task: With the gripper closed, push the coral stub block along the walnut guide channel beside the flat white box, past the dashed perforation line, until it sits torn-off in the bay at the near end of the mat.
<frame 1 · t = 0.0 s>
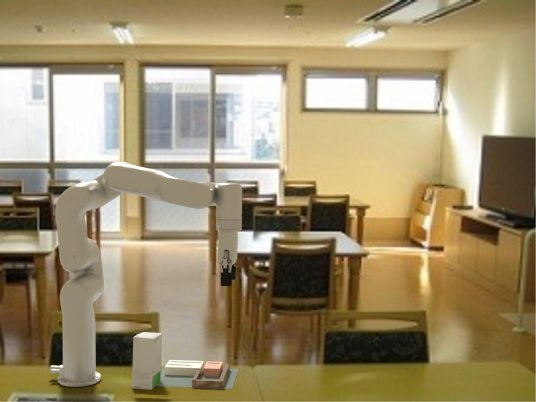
hand: (228, 282, 205), 31 cm above the table, fingers open, 9 cm apart
guide: (211, 374, 211), on the mat, point 1 cm above the table
mat: (196, 380, 212), on the table
flat white box: (184, 371, 217), resting on mat
stub: (213, 372, 216), point 1 cm above the table, touching mat
skincare box: (145, 387, 206), on the table, touching mat
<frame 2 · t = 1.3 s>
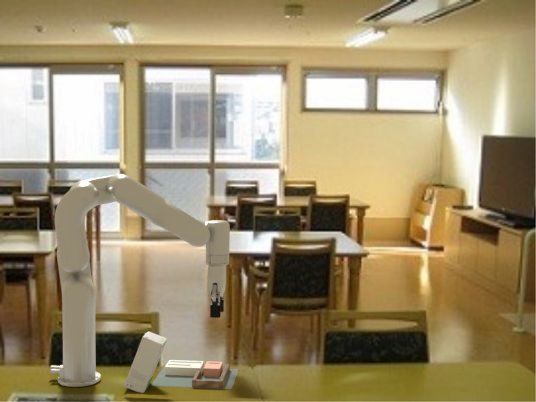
hand: (217, 314, 222), 18 cm above the table, fingers open, 6 cm apart
skincare box: (135, 386, 203), point 1 cm above the table
everything else where it was.
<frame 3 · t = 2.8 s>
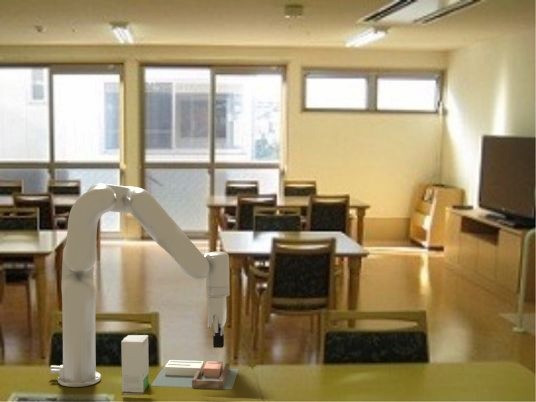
hand: (218, 346, 224), 7 cm above the table, fingers closed
skincare box: (135, 391, 203), on the table
everything else where it was.
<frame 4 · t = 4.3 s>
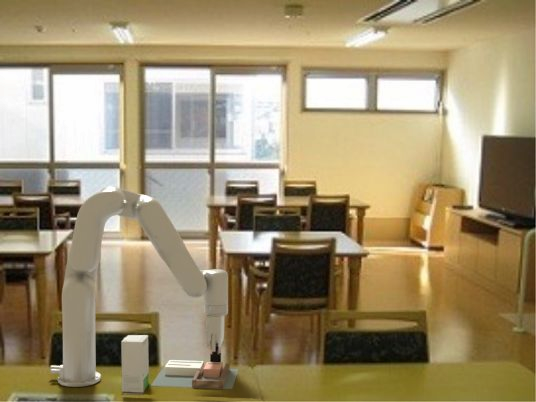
hand: (215, 365, 221), 2 cm above the table, fingers closed
stub: (213, 373, 216), point 1 cm above the table, touching gripper, mat
everything else where it was.
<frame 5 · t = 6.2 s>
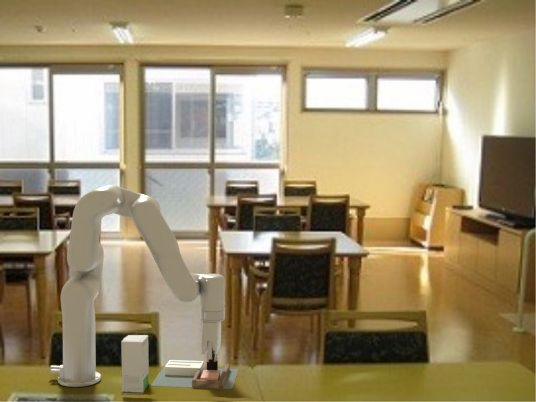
hand: (212, 373, 213), 2 cm above the table, fingers closed
stub: (210, 382, 208), point 1 cm above the table, touching gripper, mat
everything else where it was.
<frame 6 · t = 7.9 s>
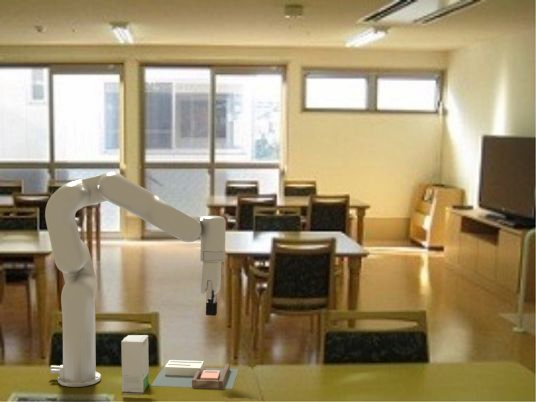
hand: (211, 314, 215), 19 cm above the table, fingers closed
stub: (210, 382, 208), point 1 cm above the table, touching mat
everything else where it was.
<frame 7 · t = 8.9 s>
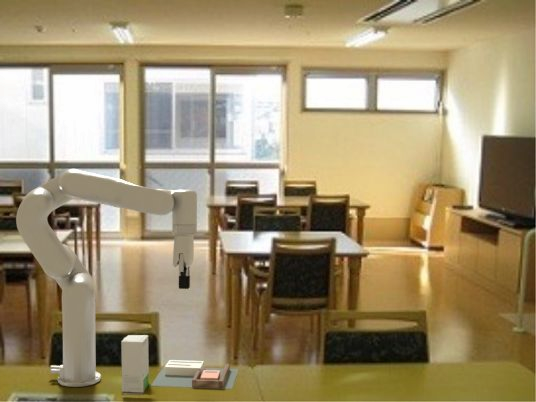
hand: (184, 288, 216), 27 cm above the table, fingers closed
nothing on the table moved.
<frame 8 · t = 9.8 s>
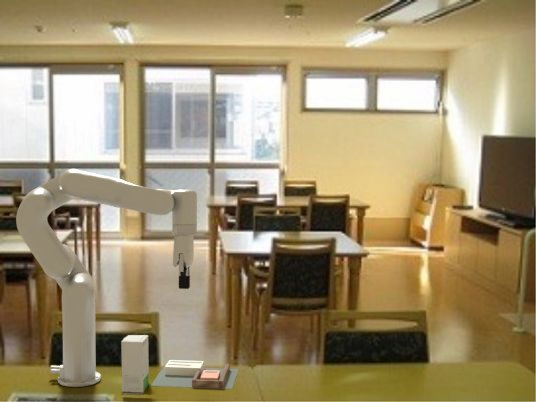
hand: (184, 288, 216), 27 cm above the table, fingers closed
nothing on the table moved.
at the end: stub 0.4 cm from the target spot, point 1.0 cm above the table; stub touching mat; stub tilted 0° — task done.
